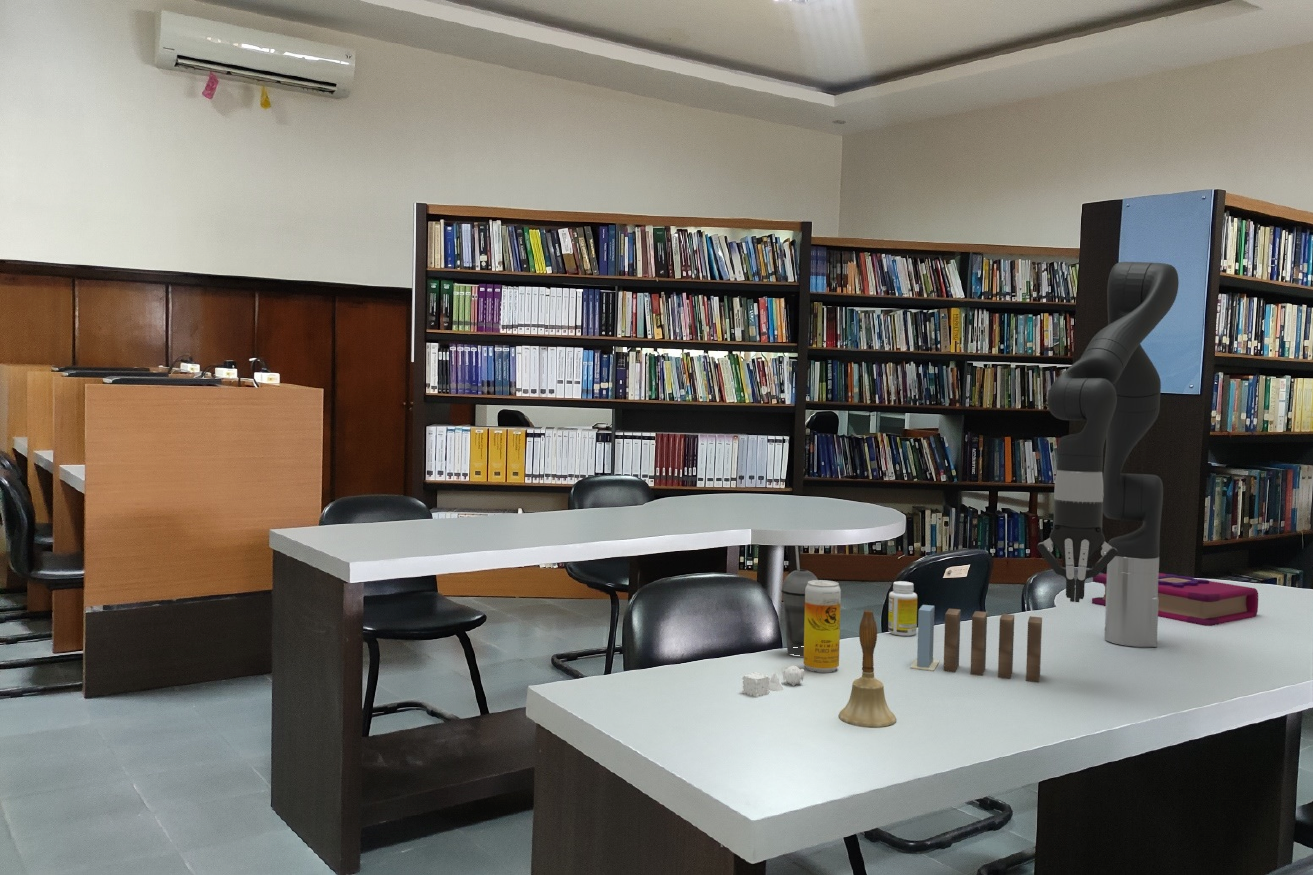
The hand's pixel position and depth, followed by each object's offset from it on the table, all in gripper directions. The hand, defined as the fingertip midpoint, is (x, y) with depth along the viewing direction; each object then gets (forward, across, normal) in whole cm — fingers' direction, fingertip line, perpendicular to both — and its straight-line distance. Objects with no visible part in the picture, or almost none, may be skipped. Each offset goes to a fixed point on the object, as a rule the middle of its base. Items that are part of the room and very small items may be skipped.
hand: (1075, 601), depth 169 cm
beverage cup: (+14, -46, -2) cm, 48 cm away
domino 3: (+14, -15, 0) cm, 21 cm away
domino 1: (+14, -24, 0) cm, 28 cm away
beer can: (+14, -40, -10) cm, 44 cm away
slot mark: (+14, -24, 0) cm, 28 cm away
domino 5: (+14, -6, 0) cm, 15 cm away
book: (+14, +20, +78) cm, 81 cm away
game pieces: (+14, -44, -26) cm, 53 cm away
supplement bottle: (+14, -32, +23) cm, 42 cm away
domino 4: (+14, -11, 0) cm, 17 cm away
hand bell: (+14, -27, -35) cm, 46 cm away
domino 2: (+14, -20, 0) cm, 24 cm away
